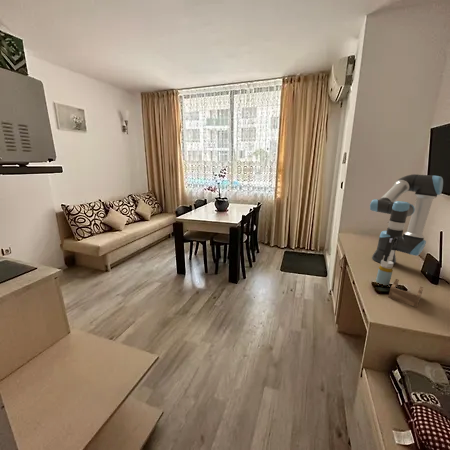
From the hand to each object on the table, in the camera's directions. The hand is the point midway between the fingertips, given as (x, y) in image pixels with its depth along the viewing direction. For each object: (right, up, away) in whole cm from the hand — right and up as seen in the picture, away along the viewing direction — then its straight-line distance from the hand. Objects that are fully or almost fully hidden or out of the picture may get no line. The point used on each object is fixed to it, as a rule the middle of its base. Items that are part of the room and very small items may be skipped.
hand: (386, 263), depth 145 cm
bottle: (0, -14, +4) cm, 14 cm away
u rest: (+4, -18, -9) cm, 20 cm away
